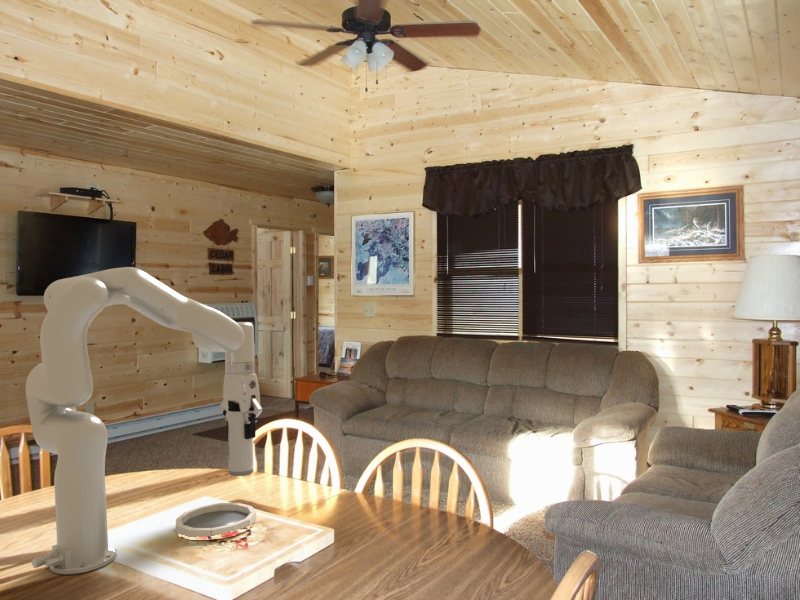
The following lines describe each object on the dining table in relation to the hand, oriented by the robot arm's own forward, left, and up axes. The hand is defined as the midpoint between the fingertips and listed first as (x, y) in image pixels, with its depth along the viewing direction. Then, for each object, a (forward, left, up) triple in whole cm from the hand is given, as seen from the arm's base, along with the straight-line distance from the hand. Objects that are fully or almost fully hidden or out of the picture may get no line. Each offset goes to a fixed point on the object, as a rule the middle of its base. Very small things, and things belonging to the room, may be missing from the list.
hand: (241, 436), depth 167 cm
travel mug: (0, 0, -10) cm, 10 cm away
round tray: (-14, -7, -18) cm, 24 cm away
